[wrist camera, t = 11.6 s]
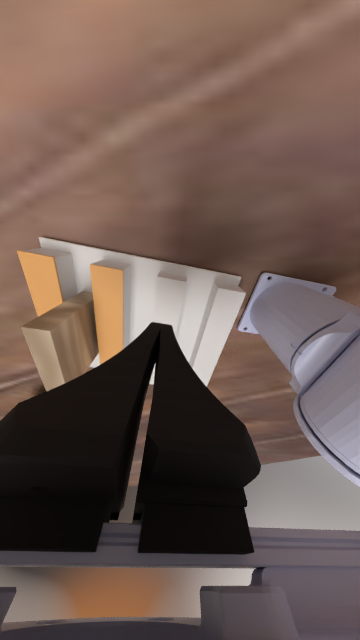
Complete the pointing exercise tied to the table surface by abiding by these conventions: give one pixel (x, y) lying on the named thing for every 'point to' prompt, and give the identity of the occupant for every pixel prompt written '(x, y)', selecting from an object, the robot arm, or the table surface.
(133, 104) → the table surface
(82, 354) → the block
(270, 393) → the table surface
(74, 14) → the table surface
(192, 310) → the rack
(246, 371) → the table surface
